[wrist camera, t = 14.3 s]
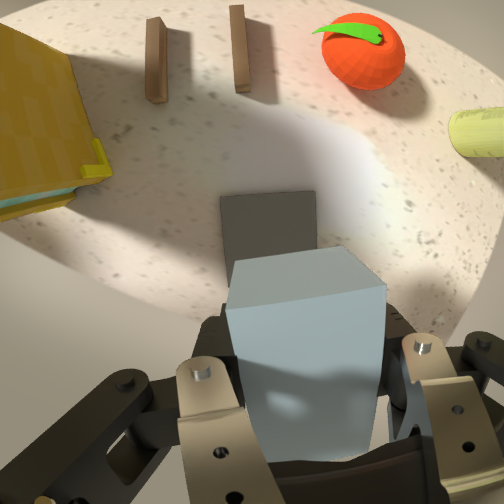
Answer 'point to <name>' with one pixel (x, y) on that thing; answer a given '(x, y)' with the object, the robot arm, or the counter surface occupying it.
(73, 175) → the book
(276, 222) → the mat
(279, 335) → the block
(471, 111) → the tube
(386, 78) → the clementine
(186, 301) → the counter surface
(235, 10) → the slot
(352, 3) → the counter surface
